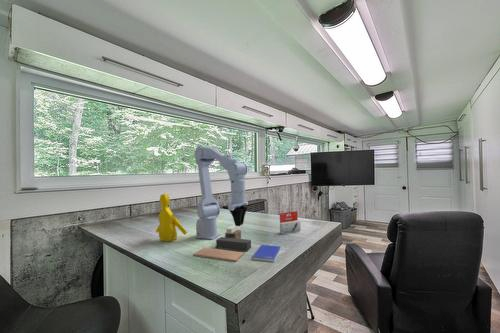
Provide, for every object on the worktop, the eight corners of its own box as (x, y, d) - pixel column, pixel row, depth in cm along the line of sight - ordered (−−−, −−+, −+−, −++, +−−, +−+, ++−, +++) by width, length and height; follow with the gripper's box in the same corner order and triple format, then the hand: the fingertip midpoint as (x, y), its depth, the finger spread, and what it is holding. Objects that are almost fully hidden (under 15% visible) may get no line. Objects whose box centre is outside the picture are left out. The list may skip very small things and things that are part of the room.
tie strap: (226, 233, 94) (225, 226, 94) (238, 225, 106) (238, 220, 106) (232, 233, 93) (231, 227, 93) (244, 226, 105) (243, 220, 105)
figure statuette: (189, 238, 102) (188, 192, 102) (179, 244, 94) (178, 194, 95) (159, 236, 107) (157, 192, 108) (147, 241, 100) (146, 194, 100)
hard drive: (274, 258, 73) (280, 246, 85) (251, 256, 76) (260, 244, 88) (274, 263, 73) (280, 250, 85) (251, 260, 76) (261, 248, 88)
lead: (216, 248, 89) (216, 239, 89) (221, 245, 92) (220, 237, 93) (247, 252, 84) (247, 243, 84) (251, 248, 87) (250, 239, 87)
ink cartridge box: (301, 230, 108) (300, 211, 109) (282, 234, 104) (281, 214, 104) (297, 229, 111) (297, 210, 111) (279, 233, 106) (279, 213, 106)
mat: (193, 255, 81) (193, 253, 81) (203, 249, 88) (203, 247, 88) (236, 261, 74) (236, 259, 74) (244, 254, 81) (244, 252, 81)
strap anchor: (225, 242, 95) (225, 233, 95) (231, 237, 101) (231, 229, 101) (235, 243, 93) (235, 233, 93) (241, 238, 99) (240, 230, 99)
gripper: (239, 193, 79) (240, 230, 79) (253, 189, 93) (254, 221, 92) (222, 193, 82) (224, 229, 82) (238, 189, 95) (239, 220, 95)
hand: (239, 225), depth 87 cm, fingers closed
